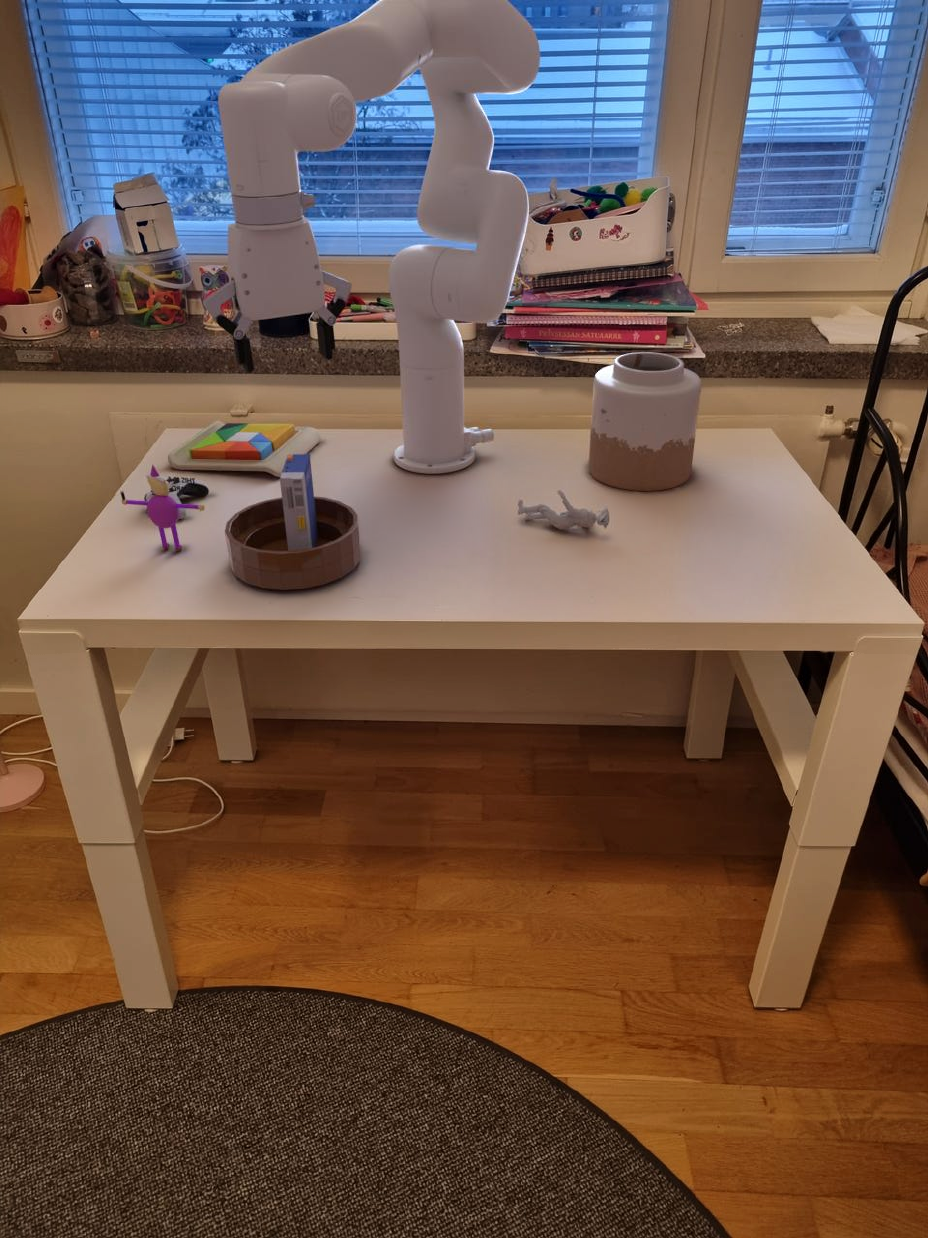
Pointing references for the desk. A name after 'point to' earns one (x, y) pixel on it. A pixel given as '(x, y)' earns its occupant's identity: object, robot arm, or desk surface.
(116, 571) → the desk surface
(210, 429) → the wooden puzzle
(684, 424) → the vase
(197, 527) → the desk surface
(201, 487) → the game controller
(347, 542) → the bowl
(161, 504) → the wizard figurine
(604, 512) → the soldier figure
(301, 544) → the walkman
